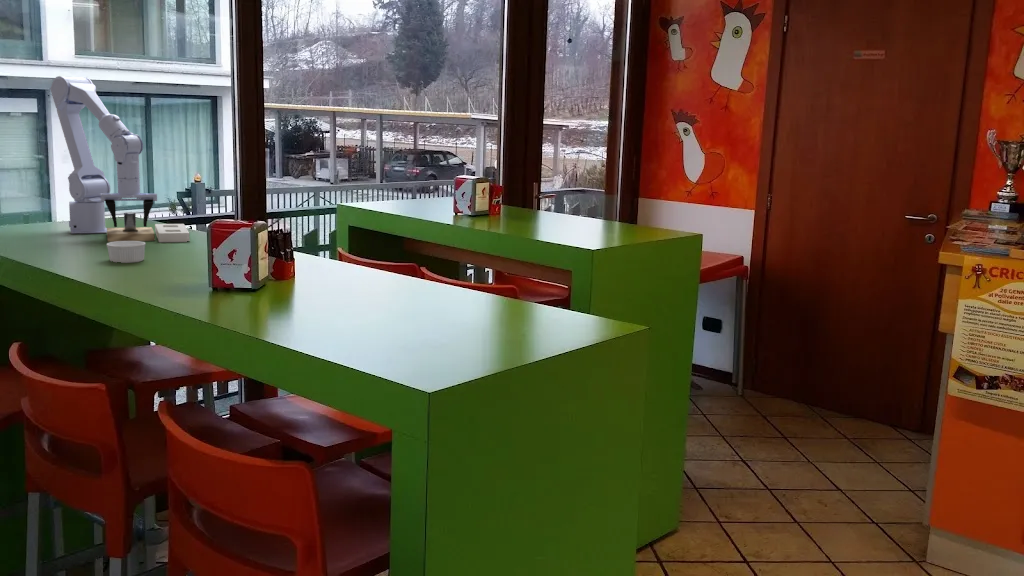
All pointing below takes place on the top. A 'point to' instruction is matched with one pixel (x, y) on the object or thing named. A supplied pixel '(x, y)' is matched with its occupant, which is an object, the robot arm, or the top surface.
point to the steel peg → (130, 222)
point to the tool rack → (171, 233)
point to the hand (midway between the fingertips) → (130, 226)
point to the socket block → (130, 234)
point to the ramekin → (126, 251)
